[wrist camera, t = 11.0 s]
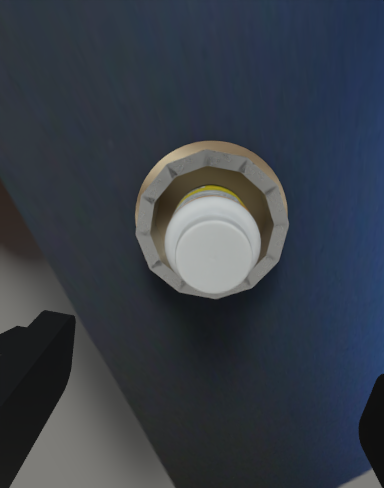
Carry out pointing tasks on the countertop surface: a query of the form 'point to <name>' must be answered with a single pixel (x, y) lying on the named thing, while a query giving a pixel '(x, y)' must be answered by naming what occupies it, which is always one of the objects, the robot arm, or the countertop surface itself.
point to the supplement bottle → (212, 240)
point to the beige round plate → (209, 176)
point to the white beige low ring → (267, 187)
